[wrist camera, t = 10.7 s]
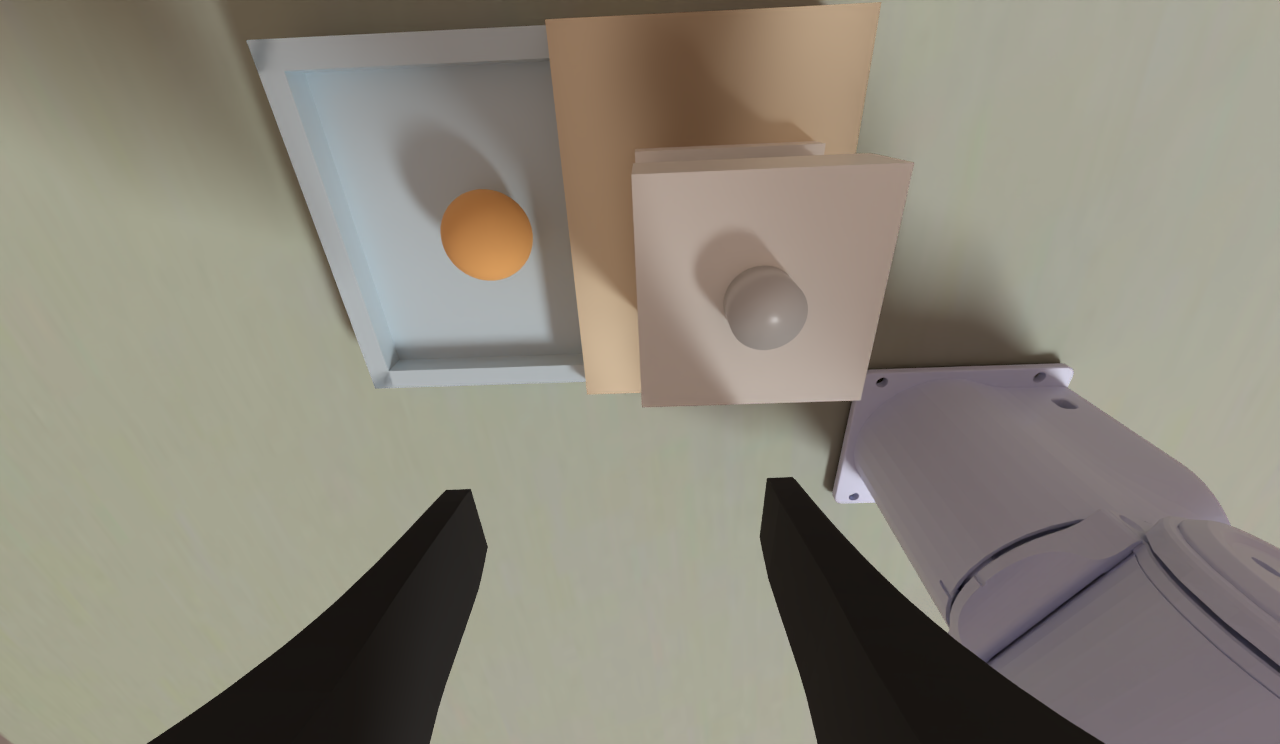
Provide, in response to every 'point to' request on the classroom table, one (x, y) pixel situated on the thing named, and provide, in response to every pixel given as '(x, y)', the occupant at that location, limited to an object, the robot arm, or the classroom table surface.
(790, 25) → the board
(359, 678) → the robot arm
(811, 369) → the small drawer with knob
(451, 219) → the ball
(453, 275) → the tray
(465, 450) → the classroom table surface
